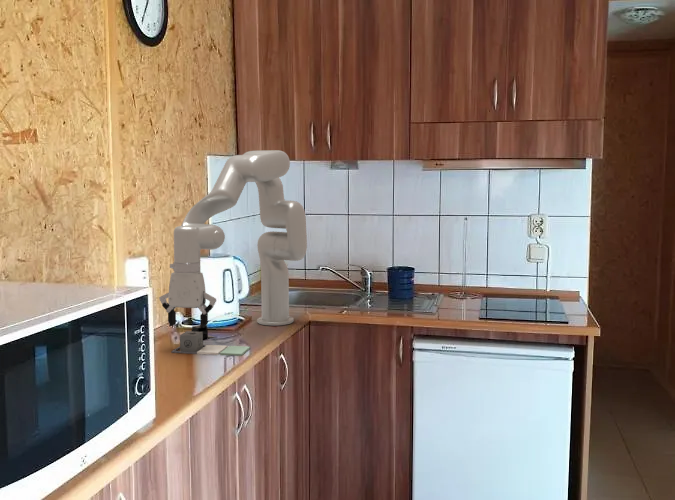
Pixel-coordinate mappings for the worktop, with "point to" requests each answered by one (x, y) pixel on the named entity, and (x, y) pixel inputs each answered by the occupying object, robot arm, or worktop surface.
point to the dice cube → (191, 341)
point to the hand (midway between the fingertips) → (188, 326)
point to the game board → (218, 350)
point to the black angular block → (204, 330)
